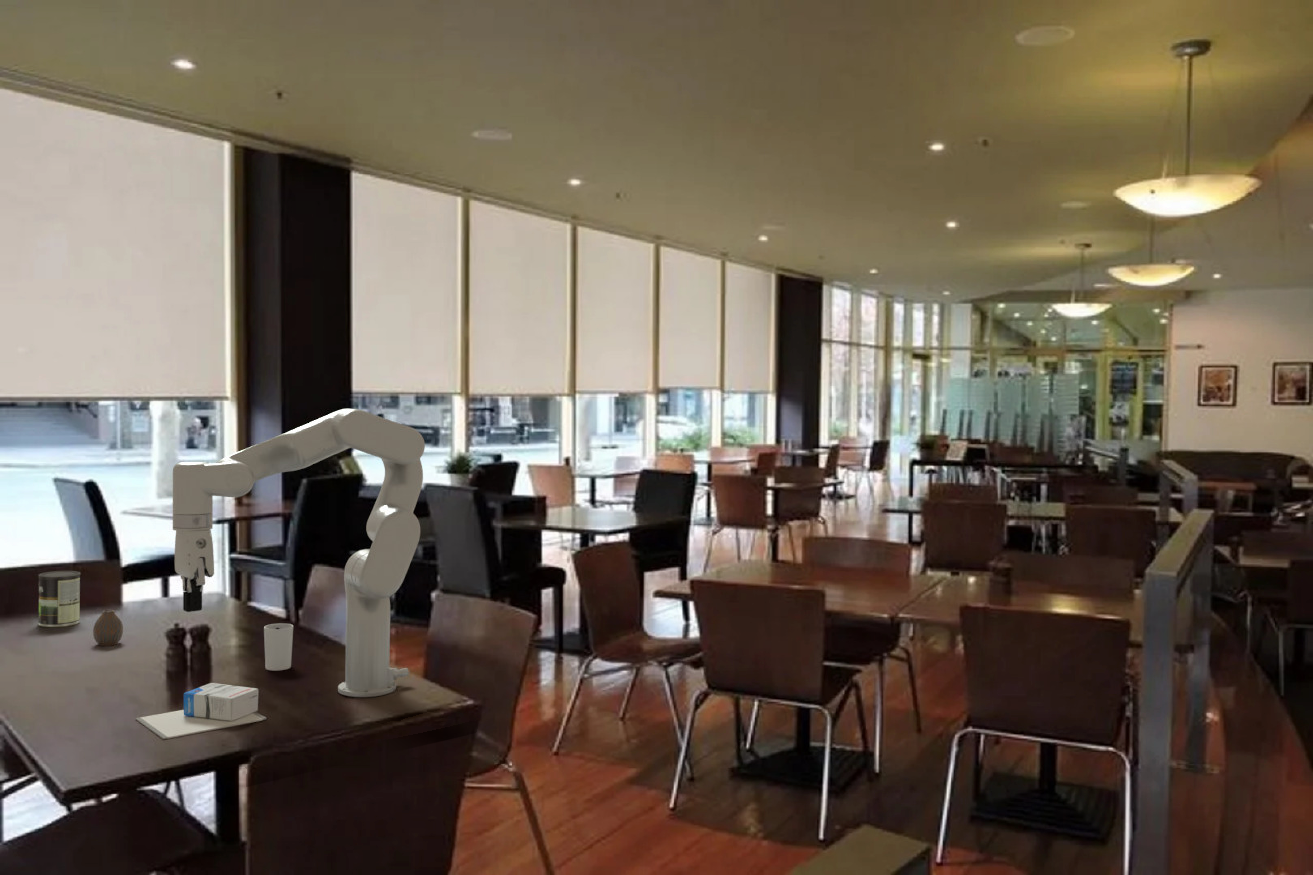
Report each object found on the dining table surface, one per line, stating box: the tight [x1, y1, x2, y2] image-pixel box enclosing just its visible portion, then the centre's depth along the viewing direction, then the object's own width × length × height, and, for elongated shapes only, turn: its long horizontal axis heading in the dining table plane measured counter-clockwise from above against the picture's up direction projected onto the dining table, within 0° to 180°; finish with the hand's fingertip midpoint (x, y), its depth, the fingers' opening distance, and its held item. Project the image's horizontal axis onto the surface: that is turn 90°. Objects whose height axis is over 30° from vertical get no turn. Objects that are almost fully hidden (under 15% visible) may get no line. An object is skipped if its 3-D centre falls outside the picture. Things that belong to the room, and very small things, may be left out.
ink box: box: [183, 682, 259, 721], centre depth 216 cm, size 9×5×12 cm
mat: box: [135, 709, 267, 740], centre depth 213 cm, size 20×16×1 cm
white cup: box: [263, 623, 294, 672], centre depth 255 cm, size 7×7×10 cm
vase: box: [92, 609, 124, 647], centre depth 274 cm, size 7×7×9 cm
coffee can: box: [38, 570, 81, 628], centre depth 297 cm, size 10×10×14 cm
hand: (192, 610), depth 218 cm, fingers closed
